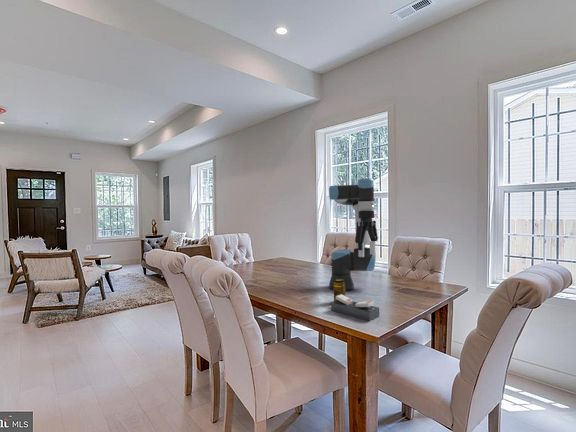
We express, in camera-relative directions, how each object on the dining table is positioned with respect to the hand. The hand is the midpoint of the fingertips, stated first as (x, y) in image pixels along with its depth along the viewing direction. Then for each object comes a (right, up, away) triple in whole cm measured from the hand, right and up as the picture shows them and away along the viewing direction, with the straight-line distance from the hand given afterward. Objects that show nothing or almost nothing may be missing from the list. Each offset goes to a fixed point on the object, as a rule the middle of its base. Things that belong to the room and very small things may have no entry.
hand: (367, 255), depth 150 cm
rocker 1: (-12, -21, -4) cm, 24 cm away
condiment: (-11, -26, +10) cm, 30 cm away
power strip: (-9, -26, -6) cm, 28 cm away
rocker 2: (-4, -21, -12) cm, 24 cm away
